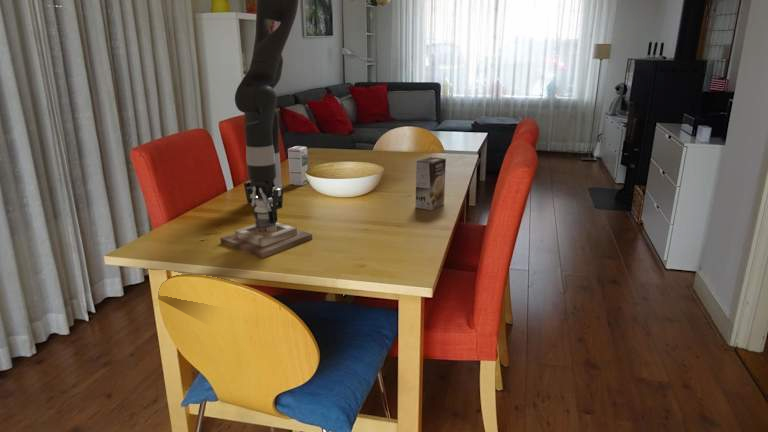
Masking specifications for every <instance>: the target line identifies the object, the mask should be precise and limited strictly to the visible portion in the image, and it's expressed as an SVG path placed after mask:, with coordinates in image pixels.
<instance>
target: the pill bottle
mask: <svg viewBox="0 0 768 432" xmlns="http://www.w3.org/2000/svg"><path fill="white" fill-rule="evenodd" d="M270 199H272V198H268V200H270ZM255 201H256V205H257V206H256V207H255V209H254V210H253V214H254V213H255V217H254V224H255V225H256V233H257V234H259V235H262V236H266V235H269V234H272V233H275V232H276V231H277V226H276V223H274V224H270V223H269V213H268V211H269V210H268V207H267V204H265V203H264V200H263V199H262V198H257V199H256V200H255ZM270 203H271V206H273V204H272V202H270Z"/></svg>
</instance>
